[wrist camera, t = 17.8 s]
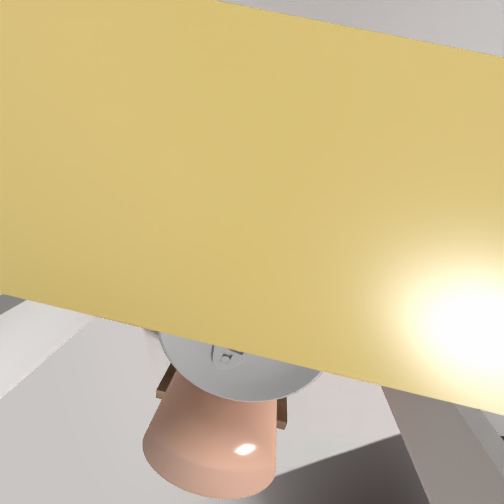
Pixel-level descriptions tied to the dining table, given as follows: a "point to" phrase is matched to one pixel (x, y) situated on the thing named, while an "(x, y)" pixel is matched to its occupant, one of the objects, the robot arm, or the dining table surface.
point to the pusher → (259, 186)
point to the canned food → (235, 371)
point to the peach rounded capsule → (212, 442)
